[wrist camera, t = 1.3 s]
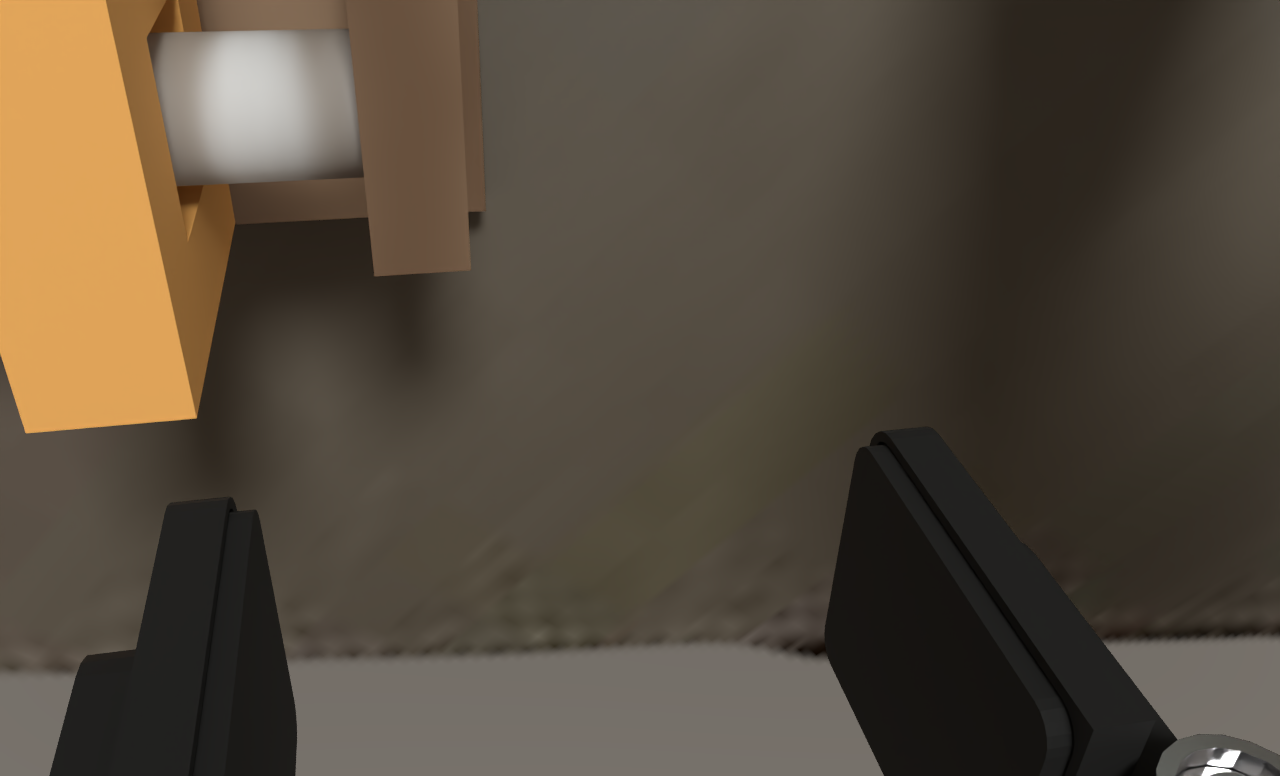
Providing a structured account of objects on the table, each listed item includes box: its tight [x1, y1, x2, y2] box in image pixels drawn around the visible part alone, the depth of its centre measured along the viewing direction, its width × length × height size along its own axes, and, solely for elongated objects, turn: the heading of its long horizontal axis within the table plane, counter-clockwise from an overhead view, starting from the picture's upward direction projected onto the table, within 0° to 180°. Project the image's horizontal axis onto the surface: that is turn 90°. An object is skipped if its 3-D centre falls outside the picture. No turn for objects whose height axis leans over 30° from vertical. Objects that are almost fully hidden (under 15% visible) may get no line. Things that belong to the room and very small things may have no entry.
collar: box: [0, 0, 235, 433], centre depth 22 cm, size 3×9×9 cm, turn 178°
